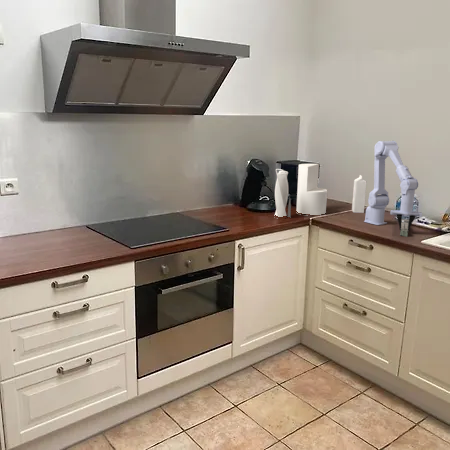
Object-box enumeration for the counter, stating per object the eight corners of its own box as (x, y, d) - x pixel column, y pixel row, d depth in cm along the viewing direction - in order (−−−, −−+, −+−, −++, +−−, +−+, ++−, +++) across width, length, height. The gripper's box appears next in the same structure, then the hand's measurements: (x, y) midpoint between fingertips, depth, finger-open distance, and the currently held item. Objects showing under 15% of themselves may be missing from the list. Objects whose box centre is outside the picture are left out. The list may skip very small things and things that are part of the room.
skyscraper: (278, 220, 254) (280, 169, 247) (270, 217, 261) (272, 168, 254) (291, 219, 257) (293, 169, 250) (283, 216, 264) (285, 167, 257)
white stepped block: (291, 213, 270) (293, 165, 263) (302, 208, 284) (305, 163, 277) (319, 217, 261) (322, 167, 254) (329, 211, 275) (333, 165, 268)
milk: (361, 210, 279) (364, 174, 273) (364, 213, 273) (367, 176, 268) (351, 210, 279) (354, 174, 274) (353, 212, 273) (356, 175, 268)
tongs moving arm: (400, 225, 243) (401, 221, 242) (406, 226, 242) (407, 221, 241) (400, 235, 224) (400, 230, 223) (406, 236, 223) (406, 231, 222)
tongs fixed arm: (399, 224, 246) (400, 219, 245) (408, 225, 244) (409, 219, 244) (398, 235, 224) (399, 229, 223) (408, 236, 222) (409, 230, 222)
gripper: (391, 203, 225) (388, 230, 228) (423, 205, 219) (420, 233, 223) (391, 200, 231) (389, 226, 234) (422, 203, 226) (419, 229, 229)
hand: (404, 229), depth 229 cm, fingers open, 3 cm apart
